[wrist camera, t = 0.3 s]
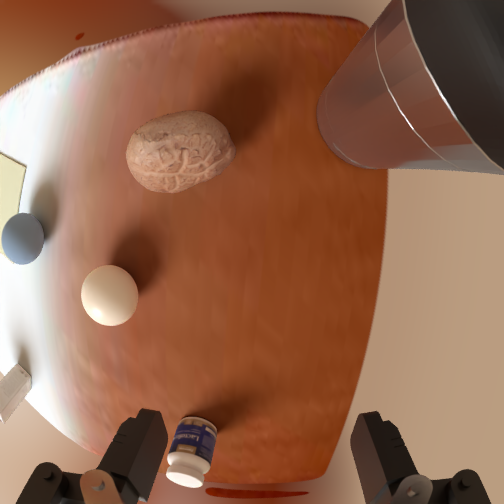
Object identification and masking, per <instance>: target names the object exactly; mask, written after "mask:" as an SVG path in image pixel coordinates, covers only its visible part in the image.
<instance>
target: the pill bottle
mask: <svg viewBox="0 0 504 504" xmlns="http://www.w3.org/2000/svg"><path fill="white" fill-rule="evenodd" d="M216 437H217V429H216V427H215V426H214V425H213V424H212V423H211V422H209V421H207V420H205V419H203V418H199V417H186V418H183V419H182V420H180V422H179V424H178V427H177V430H176V433H175V436H174V439H173V442H172V445H171V448H170V451H169V454H168V458H167V459H168V463H169V464H170V465H171V466H170V467H168V470H167V473H166V476H167V477H168V479H170V480H171V481H173V482H175V483H177V484H180V485H183V486H186V487H200V486H202V485H203V481H204V476H203V474H205V473H207V472H208V471H209V469H210V466H211V461H212V456H213V451H214V447H215V442H216Z"/></svg>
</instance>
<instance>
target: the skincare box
mask: <svg viewBox="0 0 504 504" xmlns="http://www.w3.org/2000/svg"><path fill="white" fill-rule="evenodd" d="M30 390H31V376H30V375H29V374H28V373H27V372H26V371H25V370H24V369H23V368H22V367H21V366H20V365H19V364H16V365H15V366H14V367H13V368H12V369H11V370H10V371H9V372H8V374H7V375H6V376H5V377H4V378H3V379H2V380H1V381H0V421H1V422H2V423H5V422H6V421H7V420H8V418H9V417H10V416H11V414H12V413H13V412H14V410H15V409H16V408H17V406H18V405H19V404H20V402H21V401H22V400H23V399H24V397H25V396H26V395H27V394H28V392H29V391H30Z"/></svg>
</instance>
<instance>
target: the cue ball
mask: <svg viewBox="0 0 504 504" xmlns="http://www.w3.org/2000/svg"><path fill="white" fill-rule="evenodd" d="M81 298H82V303H83V306H84V308H85V310H86V312H87V313H88V315H89V316H90V317H91V318H92V319H93V320H95V321H96V322H98V323H100V324H103V325H108V326H115V325H119V324H122V323H124V322H125V321H127V320H128V319H129V318H130V317H131V316H132V315H133V313H134V312H135V310H136V307H137V304H138V289H137V286H136V284H135V281H134V280H133V278H132V277H131V276H130V274H129V273H128V272H126V271H125V270H124V269H122V268H120V267H117V266H114V265H104V266H100V267H98V268H96V269H94V270H93V271H91V272H90V273H89V274H88V276H87V277H86V279H85V280H84V283H83V286H82V291H81Z"/></svg>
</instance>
